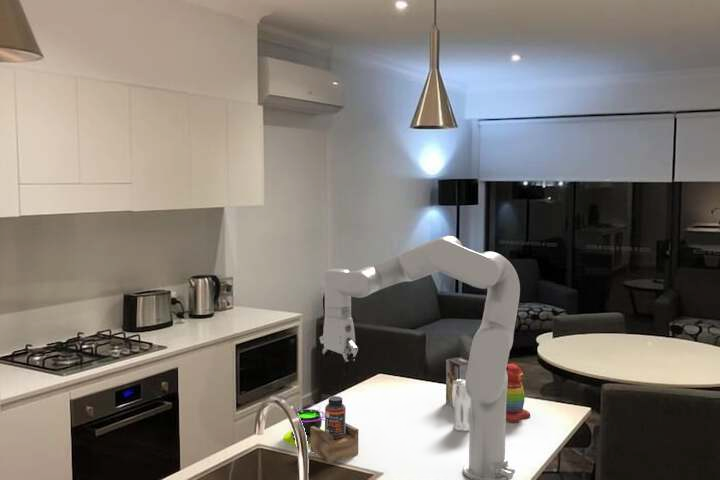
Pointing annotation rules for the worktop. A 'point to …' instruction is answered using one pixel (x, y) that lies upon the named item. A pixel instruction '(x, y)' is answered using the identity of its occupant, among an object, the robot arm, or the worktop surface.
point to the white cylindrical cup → (461, 406)
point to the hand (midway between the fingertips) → (338, 370)
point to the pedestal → (334, 444)
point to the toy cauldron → (306, 424)
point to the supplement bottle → (335, 417)
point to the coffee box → (454, 375)
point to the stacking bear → (515, 395)
